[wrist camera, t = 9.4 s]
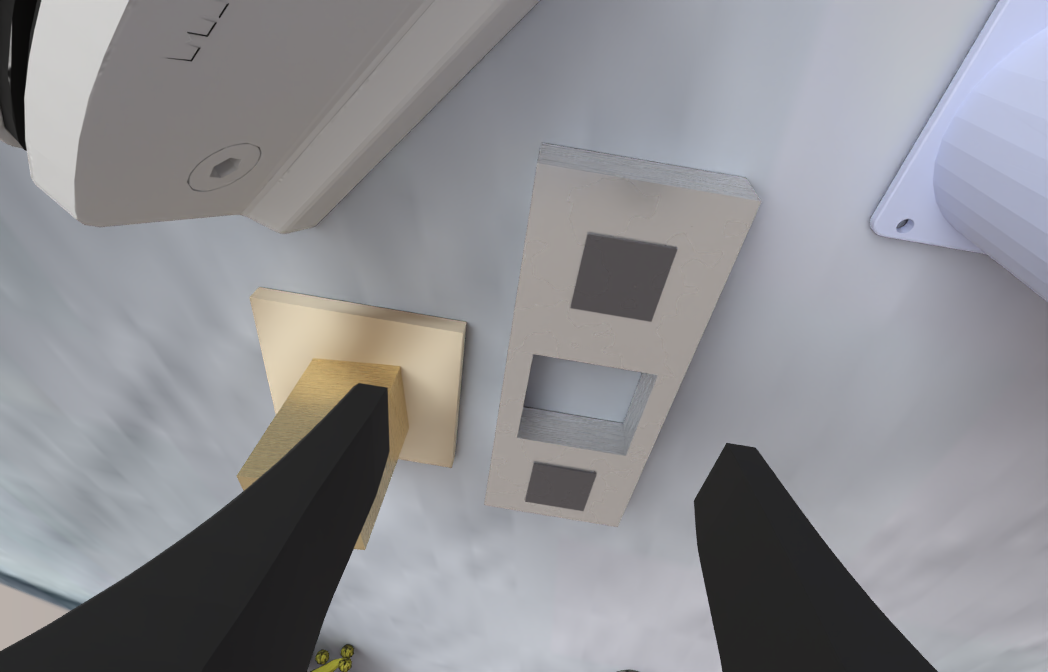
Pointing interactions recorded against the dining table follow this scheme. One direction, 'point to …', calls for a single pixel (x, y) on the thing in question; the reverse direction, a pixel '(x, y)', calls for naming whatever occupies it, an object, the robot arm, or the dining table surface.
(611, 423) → the grey peg hole board
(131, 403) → the dining table surface
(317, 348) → the birch pad
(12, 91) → the grey rounded upright block
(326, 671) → the decorative flower
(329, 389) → the brass peg
